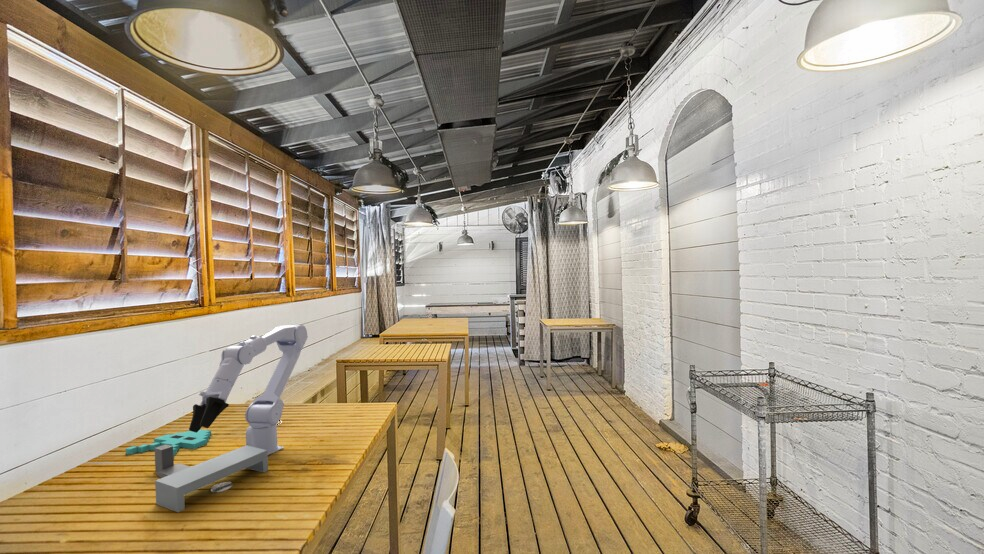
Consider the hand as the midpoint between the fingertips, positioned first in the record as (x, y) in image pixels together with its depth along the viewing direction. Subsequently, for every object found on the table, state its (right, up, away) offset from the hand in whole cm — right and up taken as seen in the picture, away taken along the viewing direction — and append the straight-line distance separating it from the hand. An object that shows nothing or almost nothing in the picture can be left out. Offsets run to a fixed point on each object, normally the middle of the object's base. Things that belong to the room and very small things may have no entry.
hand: (198, 429), depth 115 cm
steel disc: (+6, -16, 0) cm, 18 cm away
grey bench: (+4, -16, +1) cm, 17 cm away
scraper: (-12, -17, +9) cm, 22 cm away
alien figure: (-30, -18, +33) cm, 48 cm away
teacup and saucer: (-9, -17, +49) cm, 53 cm away
